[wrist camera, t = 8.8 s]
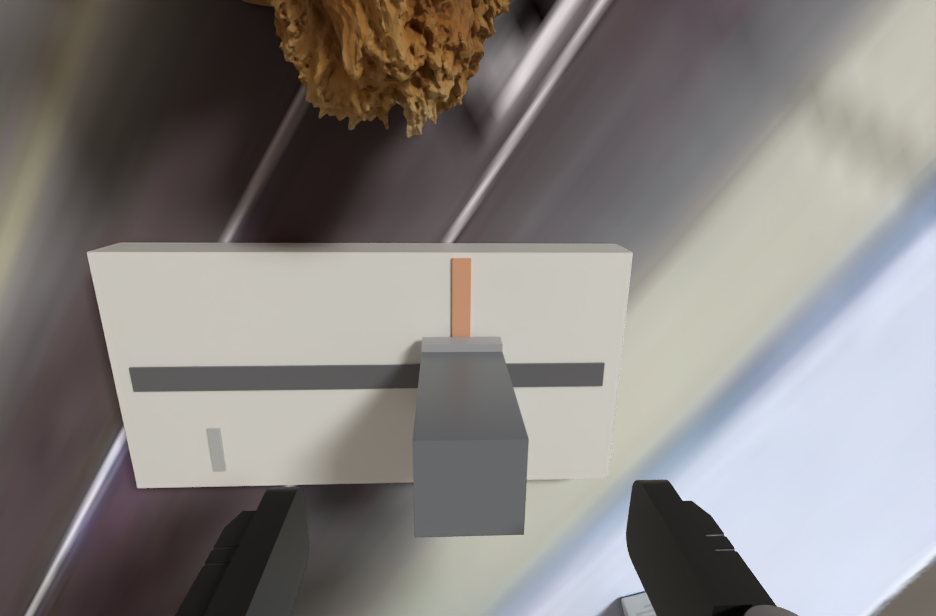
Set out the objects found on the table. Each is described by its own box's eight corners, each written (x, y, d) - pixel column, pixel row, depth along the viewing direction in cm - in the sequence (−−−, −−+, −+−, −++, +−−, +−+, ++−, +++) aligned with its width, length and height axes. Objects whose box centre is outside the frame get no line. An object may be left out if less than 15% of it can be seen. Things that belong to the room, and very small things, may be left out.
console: (120, 242, 20) (84, 252, 18) (615, 243, 21) (633, 253, 19) (162, 460, 23) (136, 489, 21) (595, 452, 24) (609, 479, 22)
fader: (422, 336, 19) (412, 430, 13) (500, 336, 19) (529, 428, 13) (423, 420, 20) (414, 546, 14) (497, 419, 21) (523, 543, 14)
